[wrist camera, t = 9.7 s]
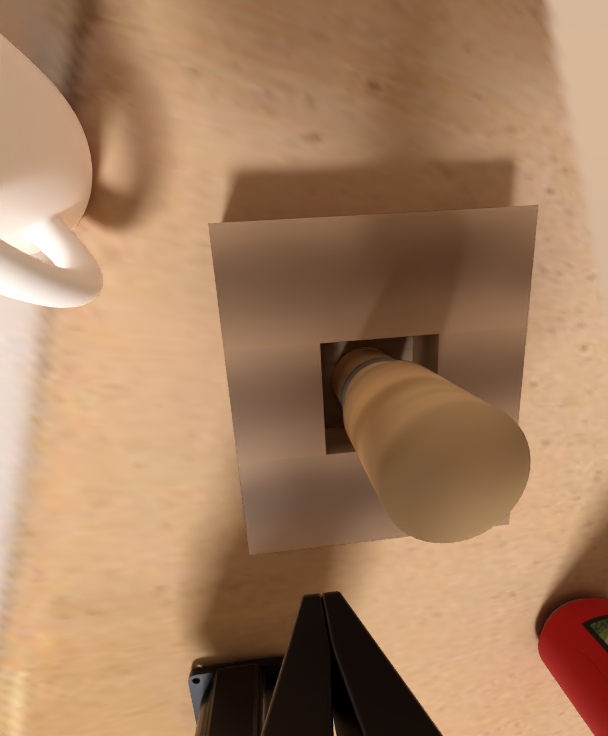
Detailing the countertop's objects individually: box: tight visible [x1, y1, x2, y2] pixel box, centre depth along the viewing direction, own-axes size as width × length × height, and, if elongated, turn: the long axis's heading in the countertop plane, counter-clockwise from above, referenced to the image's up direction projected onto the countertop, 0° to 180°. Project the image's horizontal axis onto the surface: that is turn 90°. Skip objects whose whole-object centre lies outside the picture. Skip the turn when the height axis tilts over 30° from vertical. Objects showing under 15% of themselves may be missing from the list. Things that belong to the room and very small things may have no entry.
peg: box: [332, 347, 530, 543], centre depth 15 cm, size 4×4×10 cm
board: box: [208, 205, 538, 556], centre depth 18 cm, size 16×14×3 cm
